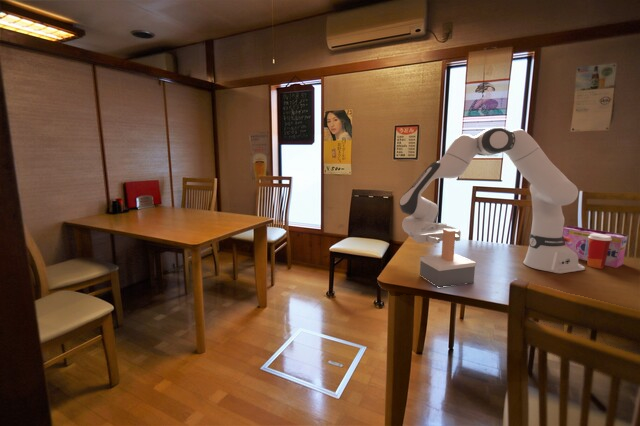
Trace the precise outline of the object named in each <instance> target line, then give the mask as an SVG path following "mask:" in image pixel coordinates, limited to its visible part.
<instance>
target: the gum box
mask: <svg viewBox="0 0 640 426" xmlns="http://www.w3.org/2000/svg"><path fill="white" fill-rule="evenodd" d="M592 233H596V234H605V235H608V236H611V239H612V240H611V241H610V245H609V250H608V254H607V258H606V262H605V265H604V266H608V267H610V268H611V267H612V268H619V267H621V266H623V265H624V259H625V252H626V249H627V247H626V246H627V242H628V239H629V235H628V234H623V233H618V232H612V231H606V230H605V231H604V230H599V229H593V228H592V229H591V228H586V227H579V226H573V225H564V228H563V235H562V236H563V237H568V238H571V241H570V242H566V241H565V245H566V246H567V247H569V248H570V249H571V250H572V251H574V252H575V253H576V254H577V255H578V260H582V261H587V257H588V244H589V237H588V236H589V235H590V234H592Z"/></svg>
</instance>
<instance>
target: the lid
mask: <svg viewBox="0 0 640 426" xmlns="http://www.w3.org/2000/svg"><path fill="white" fill-rule="evenodd" d="M455 242H456V241H455V231H454V230H451V229H443V240H442V241H441V243H442V244H441V253H440V254H434V255H433V254H432V255H423V256H419V261H420V262H421V261H422V262H424V263H426V264H427V265H429V266H431V267H433V268H435V269H436V270H438V271H443V270H451V269H458V268H466V267H473V266H475V267H476V266H477V262H476V261H474V260H472V259H469V258H467V257H464V256H463V255H460V254H457V253H456V252H455V244H456V243H455Z"/></svg>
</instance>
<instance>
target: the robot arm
mask: <svg viewBox="0 0 640 426" xmlns="http://www.w3.org/2000/svg"><path fill="white" fill-rule="evenodd" d="M501 153H505V154H506V156H508V158H509V159H510V160H511V162H512V163H513V165H514V166H515V167H516V169H517V170H518V171H519V174H521V176H522V177H523V178H524V179H526V181H527V182H529V192H530V195H531V206H532V207H531V208H532V224H531V231H530V233H529V239H528V243H529V245H528V249H527V251H526V255H525V258H524V260H523V264H524V265H525V266H527V267H529V268H532V269H535V270H540V271H543V272H544V271H545V272H550V273H555V274H565V273H566V274H567V273H571V272H573V273H574V272H579V271H585V269H586V268H585V266H583V265H582V264H580V263H579V259H578V255H577V254H576V253H575V252H574V251H572V250H571V249H570V248H569V247H567V246H566V245H565V241H566V242H570V241H571V238H568V237H563V236H562V235H563V228H564V227H565V216H564V213H563V208H562V207H563V206H568V205H571V204H572V203H574V202H575V201H576V200H577V198H578V197H579V189H578V187H577V185H575V183H573V182H572V181H570V179H568V178H567V176H566V175H565V174H564V173H563V172H562V171H561V170H560V169H559V168H558V167H557V166H556V165H554V163H553V162H552V161H551V160H550V158H548V156H547V154H546V153H545V152H544V151H543V149H542V148H541V147H540V145H539V144H538V142H537V141H536V140H535V139H534V138H533V137H532V135H530V134H529V133H528V132H527V131H526V130H524V129H522V128H518V129H517V128H516V129H513V130H511V131H510V130H508V129H506V128H504V127H497V126H496V127H491V128H487V129H485V130H483V131H481V132H479V133H477V134H476V135H474V136H473V135H471V134H461V135H460V134H459V136H457V137H456V138H455V140H454V141H453V142H452V143H451V145H450V146H449V147H448V149H447V150H446V151H445V153H444V154H443V156H442V157H441V158H440V159H439V160H437V161H434V162H432V163H430V164H429V165H428V167H427V168H425V170H424V171H423V172H422V174H420V175H419V177H418V178H417V180H416V181H415V182H414V183H413V184H412V185H411V187H410V188H409V189H408V190H407V191H406V192H404V193H403V194H402V196H401V197H400V199H399V203H398V205H399V208H400V211H401V212H402V213H404V214H406V215H409V216H406V217H404V218H403V220H402V223H401V224H402V225H401V226H402V230H403V231H404V232H405V233H406V234H407V236H408V237H411V239H412V240H413V241H414V242H416V243H418V244H424V243H425V244H427V243H434V244H439V243H440V242H442V240H443V229H451V230H454V231H455V242H460V241H461V236H462V235H461V233H462V232H461V230H460V229H458V228H456V227H453V226H450V225H447V223H444V222H436V221H437V220H438V216H439V213H440V212H439V211H440V210H439V205H438V204H437V203H435V202H433V201H431V200H430V199H427V198H425V197H423V196H422V194H423V192H424V191H425V190H426V189H427V188H428V186H429V185H430V184H431V183H432V182H433V181H435V180H436V179H456V178H459V177H461V176H462V175H463V174H464V173H465V172H466V170H467V169H468V167H469V165H470V164H471V161H472V160H473V159H474V158H475V157H476V156H493V155H498V154H501Z"/></svg>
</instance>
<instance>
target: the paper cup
mask: <svg viewBox="0 0 640 426" xmlns="http://www.w3.org/2000/svg"><path fill="white" fill-rule="evenodd" d="M588 237H589V244H588V257H587V262H586V265H587V266H588V267H590V268H592V269H593V268H594V269H604V268H605V266H606V265H605V262H606V258H607V254H608V250H609V245H610V241H611V240H612V239H611V236H608V235H605V234H596V233H592V234H590V235H589V236H588Z"/></svg>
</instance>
